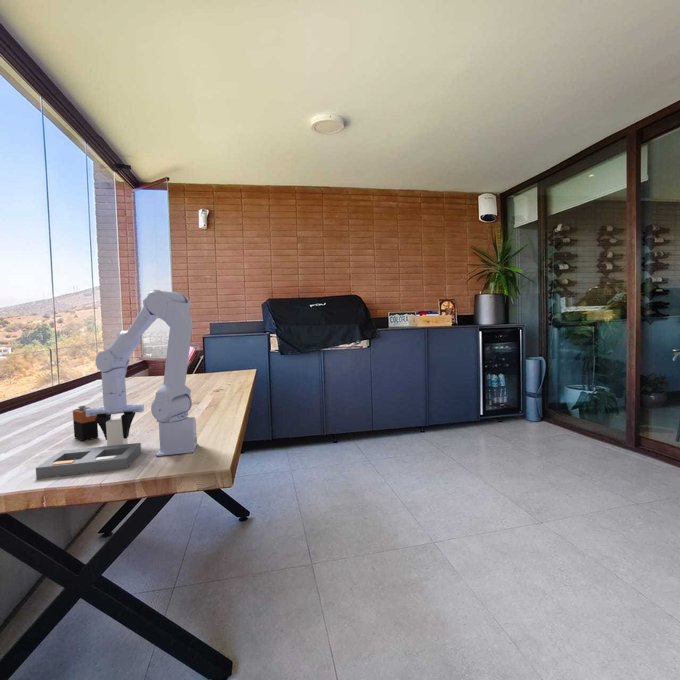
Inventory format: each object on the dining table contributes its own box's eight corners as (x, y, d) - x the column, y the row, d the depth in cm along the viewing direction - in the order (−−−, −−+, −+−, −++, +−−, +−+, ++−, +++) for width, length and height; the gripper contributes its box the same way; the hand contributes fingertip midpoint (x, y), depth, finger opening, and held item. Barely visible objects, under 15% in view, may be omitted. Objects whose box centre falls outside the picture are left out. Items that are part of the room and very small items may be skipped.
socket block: (141, 451, 101) (140, 442, 100) (127, 468, 89) (126, 457, 89) (62, 459, 96) (61, 449, 96) (36, 478, 84) (35, 467, 84)
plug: (127, 443, 108) (126, 417, 107) (123, 448, 104) (121, 420, 104) (112, 445, 107) (111, 418, 106) (107, 449, 103) (105, 422, 103)
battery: (89, 434, 119) (87, 404, 118) (99, 437, 115) (97, 406, 114) (73, 438, 115) (71, 407, 114) (83, 441, 111) (81, 409, 111)
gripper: (79, 396, 99) (82, 445, 100) (138, 392, 103) (140, 440, 103) (90, 392, 106) (93, 437, 107) (145, 388, 109) (147, 432, 110)
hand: (117, 438), depth 105 cm, fingers closed on plug, 4 cm apart
